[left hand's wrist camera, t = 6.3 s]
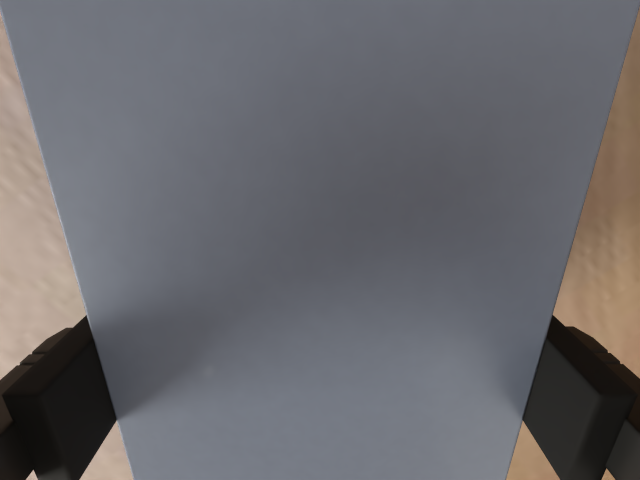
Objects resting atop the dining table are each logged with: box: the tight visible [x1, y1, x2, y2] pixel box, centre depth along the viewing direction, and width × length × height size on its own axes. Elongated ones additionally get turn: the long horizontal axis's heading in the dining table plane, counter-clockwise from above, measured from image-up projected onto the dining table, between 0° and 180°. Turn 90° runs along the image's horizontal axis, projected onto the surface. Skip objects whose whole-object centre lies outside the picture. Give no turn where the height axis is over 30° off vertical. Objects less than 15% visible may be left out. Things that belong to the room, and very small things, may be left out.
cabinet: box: [0, 0, 640, 480], centre depth 11 cm, size 19×11×8 cm, turn 0°
